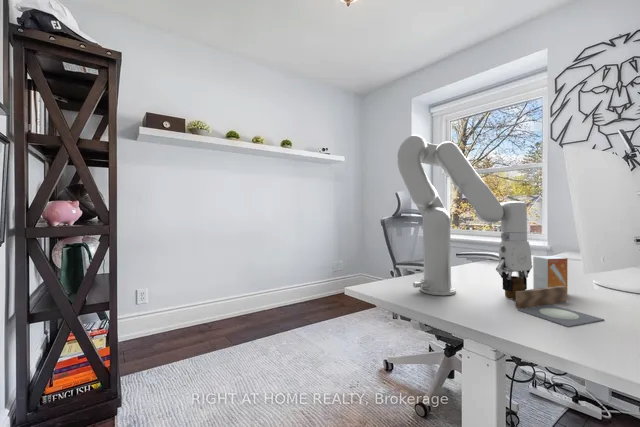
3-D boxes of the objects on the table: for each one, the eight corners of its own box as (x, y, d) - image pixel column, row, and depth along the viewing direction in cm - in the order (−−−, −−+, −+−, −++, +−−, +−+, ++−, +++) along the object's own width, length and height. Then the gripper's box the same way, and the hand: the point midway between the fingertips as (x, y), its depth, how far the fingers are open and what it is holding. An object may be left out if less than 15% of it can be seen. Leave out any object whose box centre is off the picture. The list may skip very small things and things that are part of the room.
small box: (548, 295, 105) (547, 258, 104) (532, 291, 111) (532, 256, 111) (568, 294, 106) (568, 257, 106) (552, 290, 112) (551, 255, 112)
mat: (568, 327, 77) (568, 325, 77) (517, 310, 90) (517, 308, 90) (604, 320, 81) (604, 318, 81) (550, 305, 94) (550, 303, 94)
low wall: (520, 308, 92) (520, 292, 92) (515, 307, 93) (515, 291, 93) (566, 301, 98) (566, 286, 98) (561, 300, 99) (561, 285, 99)
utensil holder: (527, 301, 99) (526, 265, 99) (505, 299, 102) (504, 263, 102) (523, 296, 104) (523, 262, 104) (502, 294, 107) (502, 261, 107)
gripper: (504, 239, 97) (505, 294, 97) (543, 237, 102) (543, 289, 102) (485, 237, 104) (486, 289, 104) (522, 235, 109) (523, 284, 109)
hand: (514, 289), depth 103 cm, fingers closed on utensil holder, 5 cm apart
